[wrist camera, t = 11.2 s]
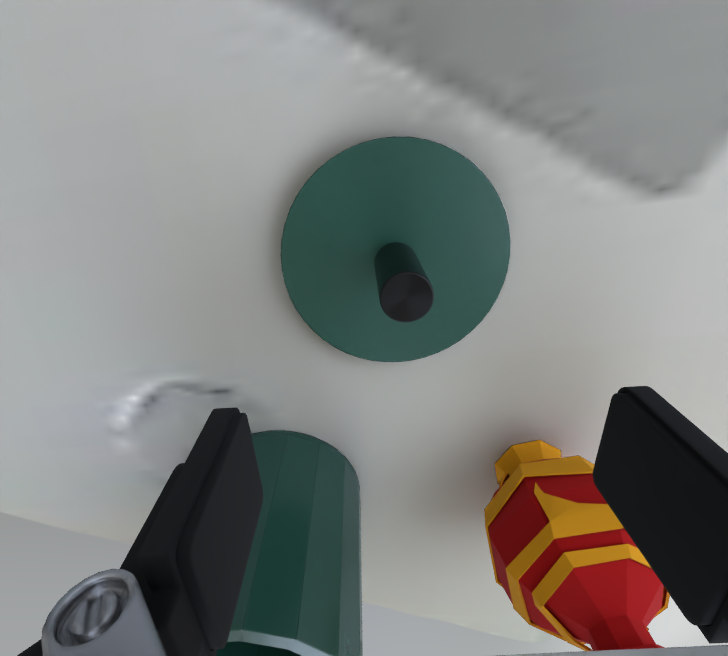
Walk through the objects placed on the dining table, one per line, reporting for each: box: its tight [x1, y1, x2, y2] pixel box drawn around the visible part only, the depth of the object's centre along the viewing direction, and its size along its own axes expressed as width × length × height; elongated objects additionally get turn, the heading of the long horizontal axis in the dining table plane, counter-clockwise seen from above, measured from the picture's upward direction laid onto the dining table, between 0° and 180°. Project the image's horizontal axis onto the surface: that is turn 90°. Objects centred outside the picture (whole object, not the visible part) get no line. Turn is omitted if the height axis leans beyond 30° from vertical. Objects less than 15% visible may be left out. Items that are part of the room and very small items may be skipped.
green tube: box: [216, 431, 362, 656], centre depth 25 cm, size 12×12×13 cm
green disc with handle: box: [281, 137, 510, 362], centre depth 21 cm, size 13×13×7 cm
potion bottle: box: [485, 440, 670, 651], centre depth 24 cm, size 10×10×15 cm
